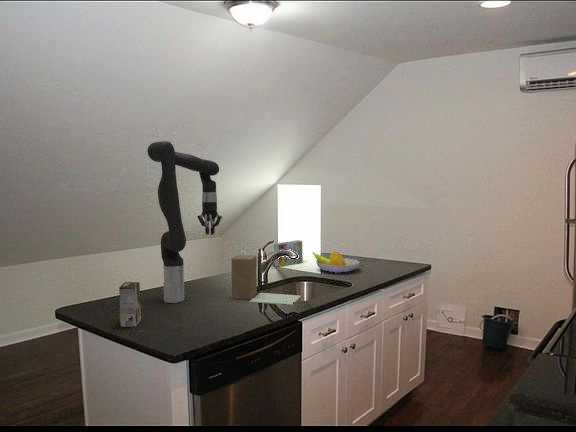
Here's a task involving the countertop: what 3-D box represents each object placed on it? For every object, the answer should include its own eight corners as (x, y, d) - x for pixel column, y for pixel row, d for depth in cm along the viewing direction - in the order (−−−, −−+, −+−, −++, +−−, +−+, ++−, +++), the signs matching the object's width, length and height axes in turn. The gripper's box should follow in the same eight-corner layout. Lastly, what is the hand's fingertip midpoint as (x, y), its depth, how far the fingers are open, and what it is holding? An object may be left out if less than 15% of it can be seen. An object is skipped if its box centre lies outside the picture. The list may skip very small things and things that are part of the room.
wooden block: (251, 300, 234) (251, 259, 233) (231, 299, 236) (231, 258, 235) (257, 295, 244) (256, 255, 242) (237, 294, 246) (237, 254, 244)
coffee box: (125, 320, 204) (124, 282, 202) (141, 319, 204) (140, 281, 203) (119, 327, 195) (118, 287, 193) (136, 326, 195) (135, 286, 194)
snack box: (297, 261, 332) (297, 239, 331) (302, 263, 328) (302, 240, 326) (273, 266, 318) (273, 243, 316) (279, 267, 314) (279, 244, 312)
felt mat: (292, 305, 225) (292, 304, 225) (249, 302, 231) (249, 301, 231) (300, 296, 241) (300, 295, 241) (260, 293, 246) (260, 292, 246)
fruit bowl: (365, 269, 306) (365, 251, 305) (346, 277, 284) (346, 258, 283) (326, 264, 321) (326, 247, 320) (305, 272, 299) (305, 253, 298)
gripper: (193, 201, 249) (194, 235, 250) (218, 201, 245) (219, 236, 247) (200, 200, 256) (201, 233, 258) (224, 200, 252) (225, 234, 254)
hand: (210, 234), depth 252 cm, fingers closed
